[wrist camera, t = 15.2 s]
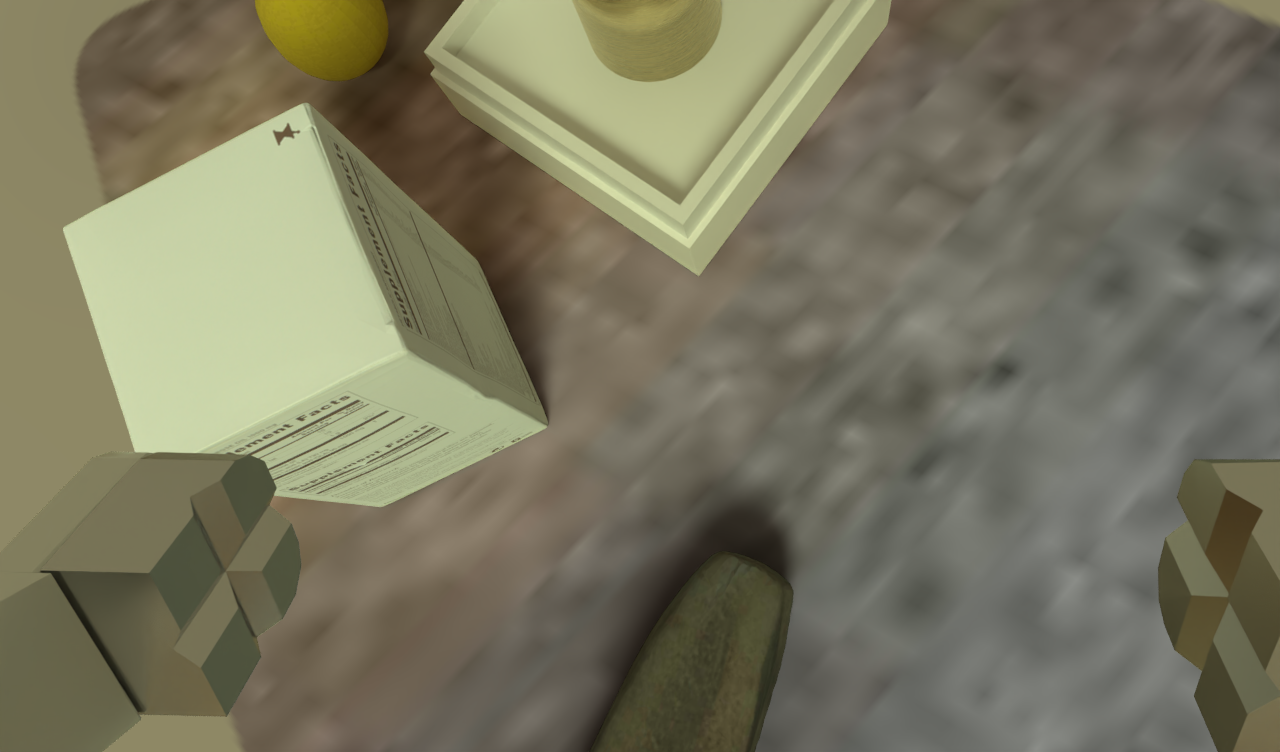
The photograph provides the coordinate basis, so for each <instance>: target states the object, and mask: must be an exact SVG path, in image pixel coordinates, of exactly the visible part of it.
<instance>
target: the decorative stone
mask: <svg viewBox="0 0 1280 752" xmlns="http://www.w3.org/2000/svg"><path fill="white" fill-rule="evenodd" d="M792 603H793V589H792V587H791V585H790V583H789V582H788V581H787V580H786V579H785V578H783V577H782V576H781V575H780V574H778V573H777V572H776V571H774V570H772V569H771V568H770V567H768V566H767V565H765V564H763V563H761V562H759V561H757V560H754V559H752V558H749V557H747V556H744V555H741V554H737V553H732V552H728V551H720V552H718V553H716V554H714V555H712V556H711V557H710V558H709V559H708V560H707V561H706V562H705V563H703V564H702V565H701V566H700V567H699V568H698V570H697V571H696V572H695V573H694V574H693V575H692V576H691V578H690V579H689V580H688V581H687V582H686V584H685V585H684V586H683V587H682V589H681V590H680V591H679V593H678V594H677V595H676V596H675V598H674V599H673V600H672V602H671V603H670V604H669V606H668V607H667V608H666V610H665V611H664V613H663V614H662V615H661V617H660V619H659V620H658V622H657V623H656V625H655V626H654V628H653V629H652V631H651V633H650V634H649V636H648V637H647V639H646V641H645V643H644V645H643V646H642V648H641V650H640V652H639V654H638V655H637V657H636V659H635V661H634V663H633V665H632V666H631V668H630V670H629V672H628V674H627V676H626V678H625V680H624V682H623V684H622V686H621V688H620V690H619V692H618V694H617V696H616V698H615V700H614V702H613V704H612V706H611V708H610V710H609V712H608V714H607V716H606V718H605V721H604V723H603V725H602V727H601V729H600V731H599V733H598V736H597V738H596V740H595V742H594V744H593V746H592V748H591V750H590V752H755V749H756V745H757V742H758V740H759V738H760V734H761V730H762V727H763V723H764V719H765V716H766V713H767V710H768V707H769V704H770V701H771V696H772V692H773V689H774V687H775V684H776V681H777V677H778V673H779V670H780V667H781V662H782V657H783V653H784V649H785V644H786V639H787V632H788V626H789V622H790V613H791V608H792Z"/></svg>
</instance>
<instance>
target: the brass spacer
mask: <svg viewBox="0 0 1280 752" xmlns="http://www.w3.org/2000/svg"><path fill="white" fill-rule="evenodd" d="M572 2H573V4H574V6H575V9H576V11H577V13H578V16H579V18H580V20H581V23H582V25H583V28H584V30H585V32H586V35H587V37H588V39H589V42H590V44H591V47H592V49H593V51H594V53H595V54H596V56H597V57H598V59H599V60H600V61H601V62H602V63H603V64H604V65H605V66H606V67H607V68H608V69H609V70H611V71H612V72H614V73H615V74H617V75H619V76H621V77H624V78H627V79H630V80H634V81H641V82H656V81H662V80H667V79H670V78H674V77H676V76H678V75H681V74H683V73H684V72H686V71H688V70H690V69H691V68H692V67H694V66H695V65H696V64H698V63H699V62H700V61H701V60H702V59H703V58H704V57H705V55H706V54H707V53H708V52H709V51H710V49H711V47H712V46H713V44H714V43H715V40H716V38H717V36H718V33H719V30H720V27H721V21H722V6H721V0H572Z"/></svg>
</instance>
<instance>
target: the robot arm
mask: <svg viewBox="0 0 1280 752" xmlns="http://www.w3.org/2000/svg"><path fill="white" fill-rule="evenodd" d="M276 489H277V487H276V485H275V483H274V481H273V478H272V476H271V474H270V472H269V470H268V468H267V465H266V463H265V461H263V460H261V459H258V458H256V457H254V456H251V455H244V454H209V453H174V452H156V453H148V452H108V453H105V454H102V455H99V456H96V457H93V458H91V459H90V461H88V462H87V464H86V465H85V466H84V467H83V468H82V469H81V470H80V471H79V472H78V473H77V474H76V475H75V476H74V477H73V478H72V479H71V480H70V481H69V482H68V483H67V484H66V485H65V486H64V487H63V488H62V489H61V490H60V491H59V492H58V493H57V495H56V496H55V497H54V498H53V499H52V500H51V501H50V502H49V503H48V504H47V505H46V506H45V507H44V508H43V509H42V510H41V511H40V512H39V513H38V514H37V515H36V516H35V517H34V518H33V519H32V520H31V521H30V522H29V523H28V524H27V525H26V526H25V527H24V528H23V530H22V531H21V532H20V533H19V534H18V535H17V536H16V537H15V538H14V539H13V540H12V541H11V542H10V543H9V544H8V545H7V546H6V547H5V548H4V549H3V550H2V551H1V552H0V752H103V751H104V750H105V749H107V748H108V747H109V746H110V745H111V744H112V743H114V742H115V741H116V740H117V739H119V738H120V737H121V736H122V735H123V734H124V733H125V732H127V731H128V730H129V729H130V728H132V727H133V726H134V725H135V724H136V723H138V722H139V721H140V720H141V717H140V715H143V714H144V715H183V716H225V717H227V715H228V714H229V712H230V710H231V708H232V707H233V705H234V703H235V701H236V700H237V698H238V696H239V694H240V693H241V691H242V689H243V688H244V686H245V684H246V682H247V681H248V679H249V677H250V675H251V674H252V672H253V670H254V668H255V667H256V665H257V663H258V661H259V660H260V658H261V654H260V650H259V645H258V641H257V637H258V636H259V635H261V634H262V633H264V632H265V631H266V630H268V629H269V628H271V627H272V626H273V625H275V624H276V623H278V622H279V621H281V620H282V619H283V617H284V616H285V614H286V612H287V610H288V608H289V606H290V604H291V602H292V601H293V599H294V597H295V595H296V590H297V585H298V580H299V575H300V570H301V558H300V549H299V542H298V539H297V537H296V534H295V531H294V529H293V526H292V524H291V522H289V521H288V520H287V519H286V518H284V517H283V516H282V515H281V514H279V513H278V512H277V511H276V510H275V509H273V508H272V507H271V506H270V502H271V500H272V498H273V496H274V493H275V491H276ZM1177 499H1178V501H1179V503H1180V505H1181V507H1182V509H1183V511H1184V513H1185V515H1186V517H1187V519H1188V521H1187V522H1185V523H1184V524H1183V525H1181V526H1180V527H1179V528H1178V529H1176V530H1175V531H1174V532H1172V533H1171V534H1170V535H1168V536H1167V537H1166V538H1165V541H1164V546H1163V550H1162V554H1161V558H1160V562H1159V567H1158V587H1159V603H1160V608H1161V612H1162V616H1163V621H1164V625H1165V627H1166V630H1167V632H1168V635H1169V637H1170V640H1171V642H1172V645H1173V647H1174V650H1175V651H1177V652H1178V653H1179V654H1180V655H1182V656H1183V657H1184V658H1186V659H1187V660H1188V661H1189V662H1191V663H1192V664H1193V665H1195V666H1196V667H1197V668H1199V669H1200V670H1201V671H1202V673H1201V676H1200V679H1199V682H1198V685H1197V688H1196V691H1195V694H1194V697H1195V700H1196V702H1197V704H1198V707H1199V709H1200V711H1201V714H1202V716H1203V718H1204V721H1205V723H1206V725H1207V728H1208V730H1209V732H1210V735H1211V737H1212V739H1213V742H1214V744H1215V746H1216V748H1217V751H1218V752H1280V459H1194V461H1193V462H1192V464H1191V465H1190V466H1189V468H1188V469H1187V470H1186V472H1185V473H1184V476H1183V479H1182V482H1181V486H1180V489H1179V492H1178V495H1177Z"/></svg>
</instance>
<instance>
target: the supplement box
mask: <svg viewBox="0 0 1280 752" xmlns="http://www.w3.org/2000/svg"><path fill="white" fill-rule="evenodd" d="M63 230H64V231H63V232H64V234H65V237H66V240H67V243H68V246H69V249H70V252H71V256H72V258H73V262H74V265H75V268H76V271H77V274H78V276H79V279H80V282H81V286H82V288H83V292H84V295H85V298H86V301H87V304H88V307H89V310H90V313H91V317H92V320H93V323H94V326H95V329H96V332H97V335H98V338H99V341H100V344H101V347H102V351H103V353H104V357H105V360H106V363H107V366H108V369H109V372H110V375H111V378H112V381H113V384H114V387H115V390H116V393H117V397H118V400H119V403H120V406H121V408H122V412H123V414H124V418H125V421H126V424H127V427H128V431H129V433H130V437H131V440H132V444H133V447H134V450H135V452H148V453H156V452H174V453H209V454H244V455H251V456H254V457H256V458H258V459H261V460H263V461H265V463H266V465H267V468H268V470H269V472H270V474H271V476H272V478H273V481H274V483H275V485H276V487H277V489H276V491H275V493H274V496H282V497H292V498H301V499H310V500H320V501H330V502H340V503H349V504H358V505H367V506H377V507H382V506H385V505H388V504H390V503H392V502H394V501H396V500H399V499H401V498H403V497H405V496H407V495H409V494H411V493H413V492H415V491H417V490H419V489H421V488H424V487H426V486H428V485H430V484H432V483H434V482H436V481H438V480H440V479H442V478H444V477H446V476H448V475H450V474H453V473H455V472H457V471H459V470H461V469H463V468H465V467H467V466H469V465H471V464H473V463H475V462H477V461H479V460H481V459H484V458H486V457H488V456H490V455H492V454H494V453H496V452H498V451H500V450H502V449H504V448H506V447H508V446H510V445H512V444H515V443H517V442H519V441H521V440H523V439H525V438H527V437H529V436H531V435H533V434H535V433H537V432H539V431H541V430H543V429H545V428H546V427H547V426H548V420H547V417H546V415H545V412H544V410H543V407H542V405H541V403H540V400H539V398H538V396H537V393H536V391H535V389H534V386H533V384H532V382H531V379H530V377H529V375H528V373H527V370H526V368H525V366H524V364H523V361H522V359H521V357H520V355H519V353H518V350H517V348H516V346H515V344H514V342H513V339H512V337H511V335H510V333H509V330H508V328H507V326H506V323H505V321H504V319H503V317H502V314H501V312H500V310H499V307H498V305H497V303H496V301H495V298H494V296H493V294H492V291H491V289H490V287H489V285H488V282H487V280H486V278H485V275H484V273H483V271H482V269H481V267H480V264H479V262H478V261H477V260H476V259H475V258H474V257H473V256H472V255H471V254H470V253H469V252H468V251H467V250H466V249H465V248H464V247H463V246H462V245H461V244H459V243H458V242H457V241H456V240H455V239H454V238H453V237H452V236H451V235H450V234H449V233H448V232H447V231H445V230H444V229H443V228H442V227H441V226H440V225H439V224H438V223H437V222H436V221H435V220H433V219H432V218H431V217H430V216H429V215H428V214H427V213H426V212H425V211H424V210H423V209H422V208H421V207H419V206H418V205H417V204H416V203H415V202H414V201H413V200H412V199H411V198H410V197H409V196H408V195H406V194H405V193H404V192H403V191H402V190H401V189H400V188H399V187H398V186H396V185H395V184H394V183H393V182H392V181H391V180H390V179H389V178H388V177H387V176H386V175H385V174H384V173H383V172H382V171H381V170H380V169H379V168H378V167H377V166H376V165H375V164H374V163H373V162H371V161H370V160H369V159H368V158H367V157H366V156H365V155H364V154H363V153H362V152H361V151H360V150H359V149H358V148H357V147H355V146H354V145H353V144H352V143H351V142H350V141H349V140H348V139H347V138H346V137H345V136H344V135H343V134H342V133H340V132H339V131H338V130H337V129H336V128H335V127H334V126H333V125H332V124H331V123H330V122H329V121H328V120H327V119H325V118H324V117H323V116H322V115H321V114H320V113H319V112H318V111H317V110H316V109H315V108H314V107H312V106H311V105H310V104H309V103H302V104H300V105H298V106H296V107H294V108H292V109H290V110H288V111H286V112H284V113H282V114H280V115H278V116H276V117H274V118H272V119H270V120H268V121H266V122H264V123H262V124H260V125H258V126H256V127H254V128H252V129H250V130H248V131H247V132H245V133H243V134H241V135H239V136H237V137H235V138H233V139H231V140H229V141H227V142H225V143H223V144H222V145H220V146H218V147H216V148H214V149H212V150H210V151H208V152H206V153H204V154H202V155H200V156H198V157H197V158H195V159H193V160H191V161H189V162H187V163H185V164H183V165H181V166H179V167H177V168H175V169H173V170H171V171H170V172H168V173H166V174H164V175H162V176H160V177H158V178H156V179H154V180H152V181H150V182H148V183H146V184H144V185H143V186H141V187H139V188H137V189H135V190H133V191H131V192H129V193H127V194H125V195H123V196H121V197H119V198H117V199H115V200H113V201H111V202H109V203H107V204H105V205H103V206H102V207H99V208H97V209H95V210H94V211H92V212H90V213H88V214H86V215H85V216H83V217H81V218H79V219H77V220H76V221H74V222H72V223H70V224H68V225H66V226H65V227H64V228H63Z"/></svg>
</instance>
